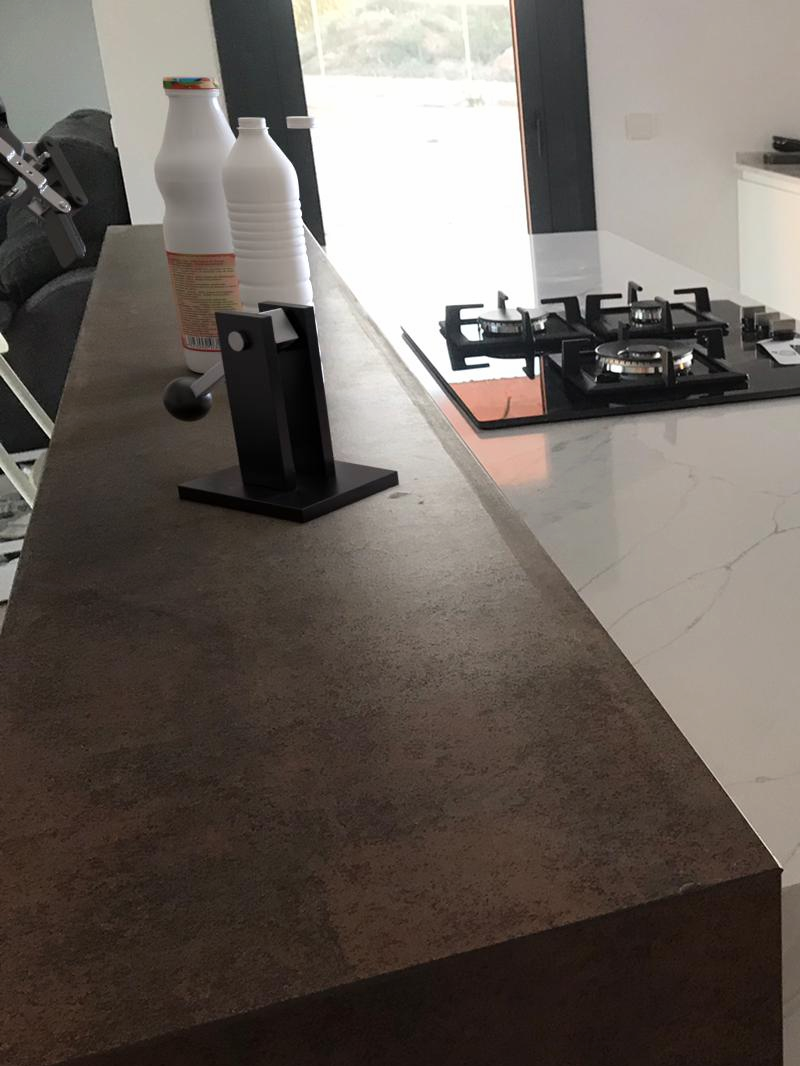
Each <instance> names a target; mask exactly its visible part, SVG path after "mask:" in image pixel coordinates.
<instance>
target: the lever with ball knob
mask: <svg viewBox="0 0 800 1066" xmlns="http://www.w3.org/2000/svg"><path fill="white" fill-rule="evenodd" d="M258 314H263V315H270V316H272V323H273V330H274V336H275V343H276V350H277V354H279V353H280V352H281V351H282V350H284V349H285V348H286V347H287V346H289V345H290V344H291V343H293V342H294V341H295V340H296V339H298V335H297V334H296V332H295V330H294V328H293V327H292V325H291V323H290V322H289V320H288V318H287V317H286V315H285V313H284V311H283V310H282V309H281V308H280V309H275V310H271V311H266V312H261V313H258ZM224 382H226V380H225V374H224V368H223V362H222V360H221V361H220V362H219V363H218V364H216V365H215V366H214V367H213V368H212V369H210V370H209V371H208V372H207V373H205V374H203V375H202V376H200V377H199V378H196V377H191V376H181V377H177V378H175V379H173V380H171V381H170V382H169V383H168V384H167V385H166V386H165V387H164V390H163V394H162V401H163V407H164V408H165V410H166V412H168V414H169V415H170V416H171V417H173V418H174V419H176V420H178V421H181V422H186V423H193V422H198V421H201V420H202V419H203V418H206V416H207V415H208V414H209V412H210V411H211V409H212V406H213V396H212V393H211V392H213V391H214V390H215V389H217V388H218V387H219V386H221V385H222V384H223V383H224Z"/></svg>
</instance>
